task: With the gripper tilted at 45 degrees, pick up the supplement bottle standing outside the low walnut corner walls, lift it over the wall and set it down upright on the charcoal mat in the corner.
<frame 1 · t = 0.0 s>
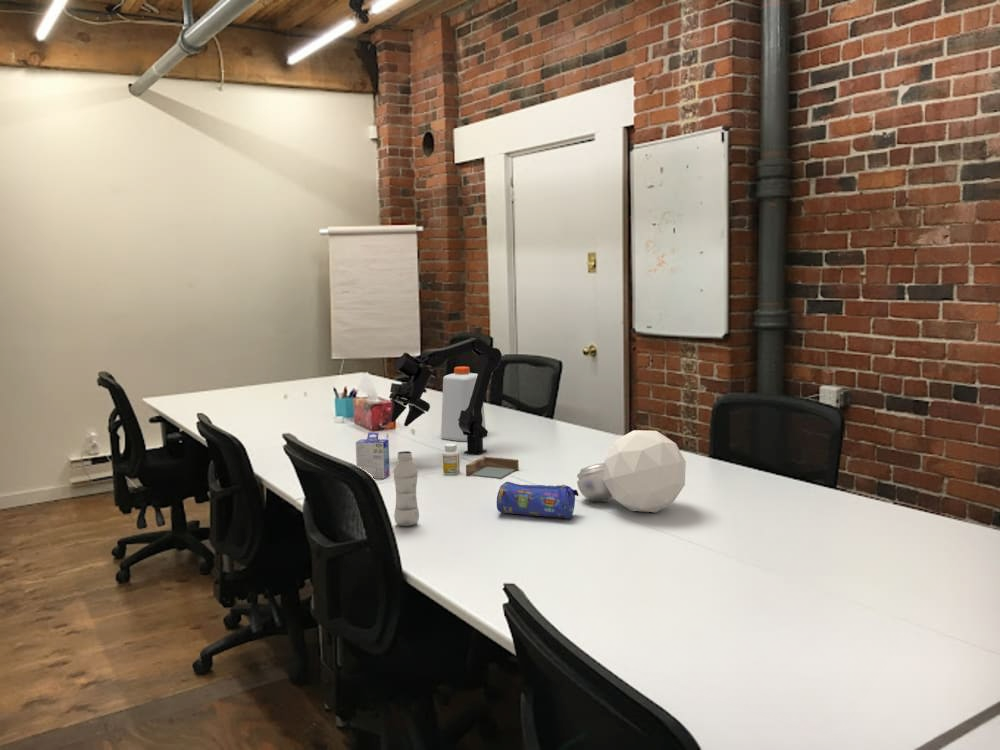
hand: (398, 423, 290), 15 cm above the table, tool tilted 35°, fingers open, 9 cm apart
pencil case: (536, 516, 236), on the table
lamp: (628, 507, 242), on the table
ink cartridge box: (373, 477, 280), on the table
supplement bottle: (451, 473, 282), on the table
corner walls: (493, 473, 281), resting in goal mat
plastic bottle: (407, 525, 229), on the table
plastic bottle 2: (463, 438, 336), on the table
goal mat: (493, 473, 281), on the table
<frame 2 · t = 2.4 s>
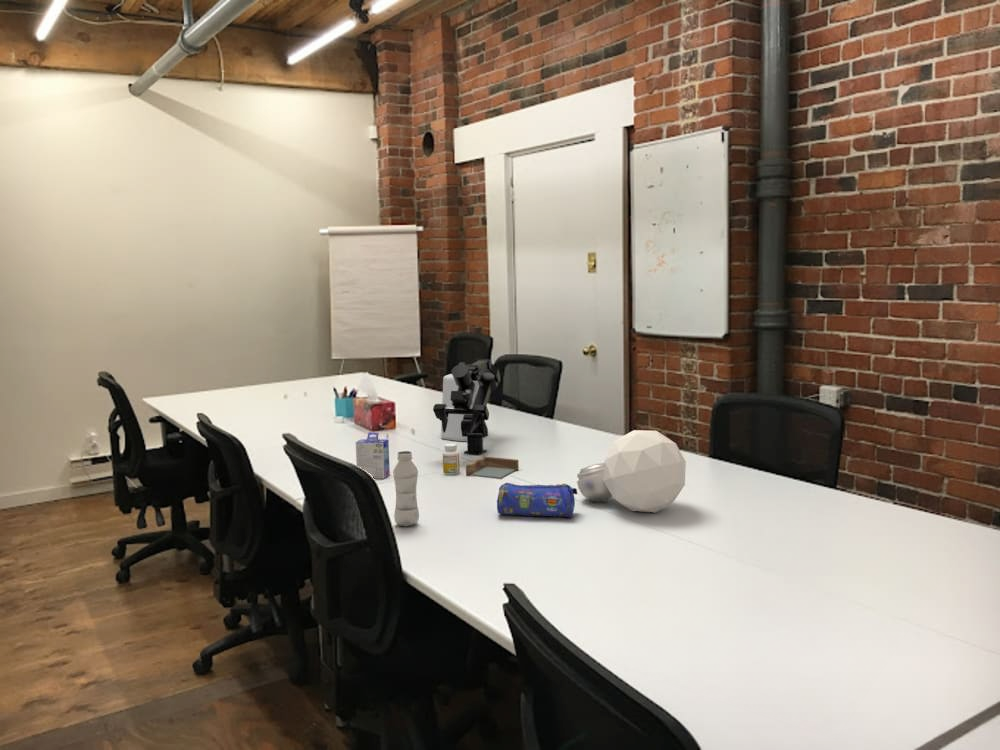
hand: (456, 432, 288), 12 cm above the table, tool tilted 45°, fingers open, 9 cm apart
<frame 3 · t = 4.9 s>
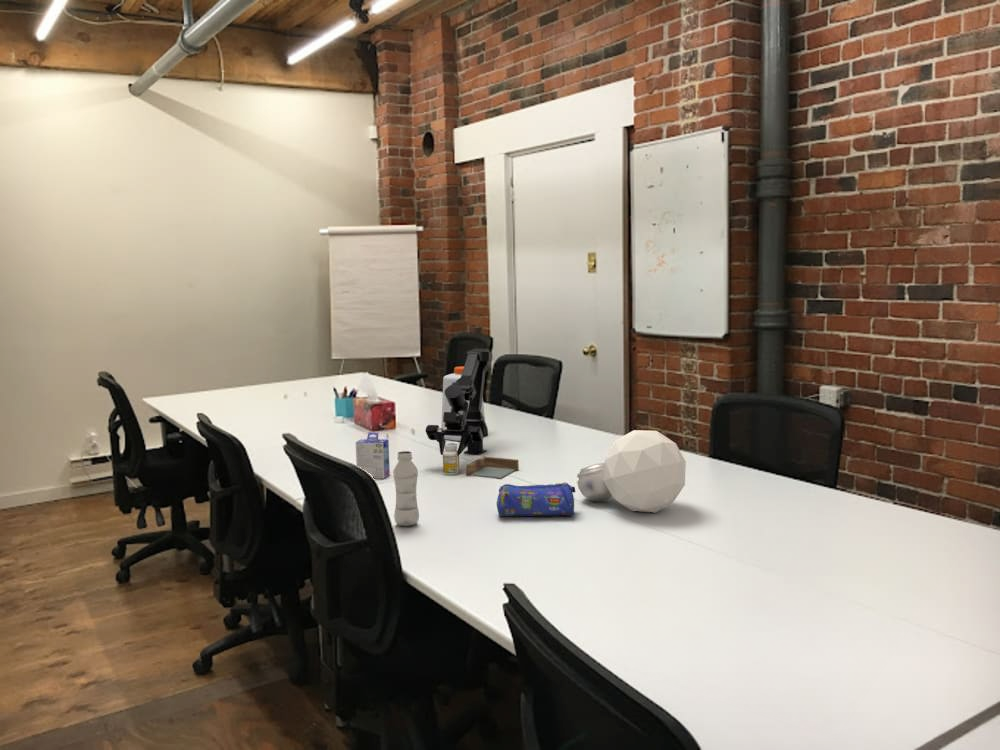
hand: (449, 454, 280), 7 cm above the table, tool tilted 45°, fingers closed on supplement bottle, 5 cm apart
supplement bottle: (451, 473, 282), on the table, touching gripper
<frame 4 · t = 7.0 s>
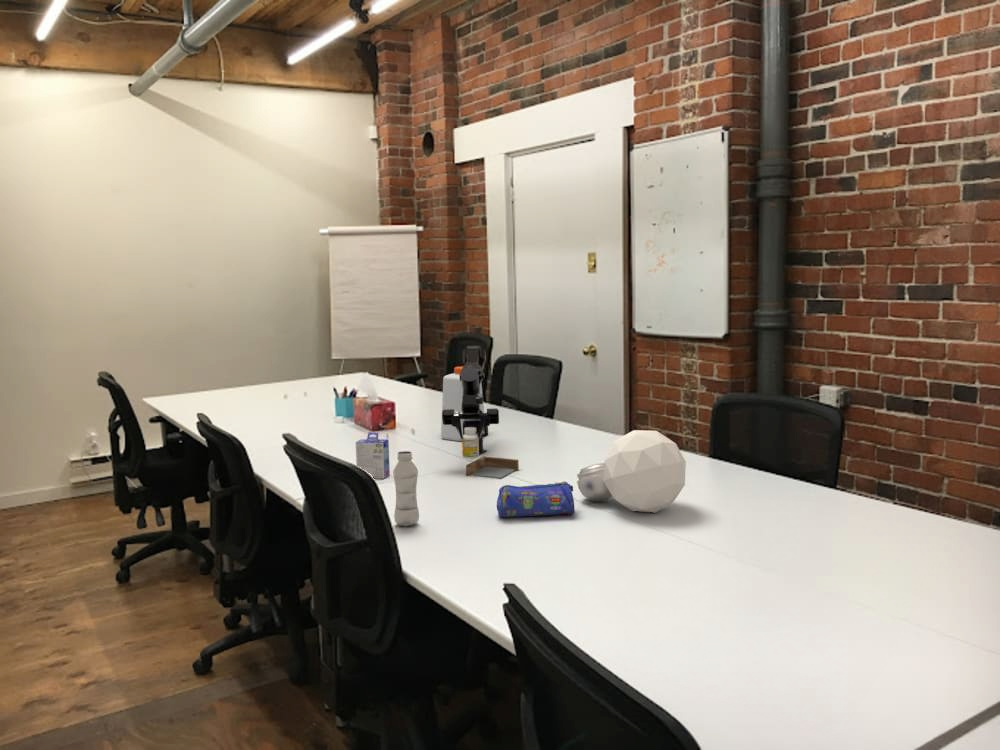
hand: (470, 438, 278), 12 cm above the table, tool tilted 45°, fingers closed on supplement bottle, 5 cm apart
supplement bottle: (470, 457, 280), point 5 cm above the table, touching gripper
when the fingers open (8 cm above the table, at t = 9.1 s): supplement bottle stays where it is, resting on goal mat.
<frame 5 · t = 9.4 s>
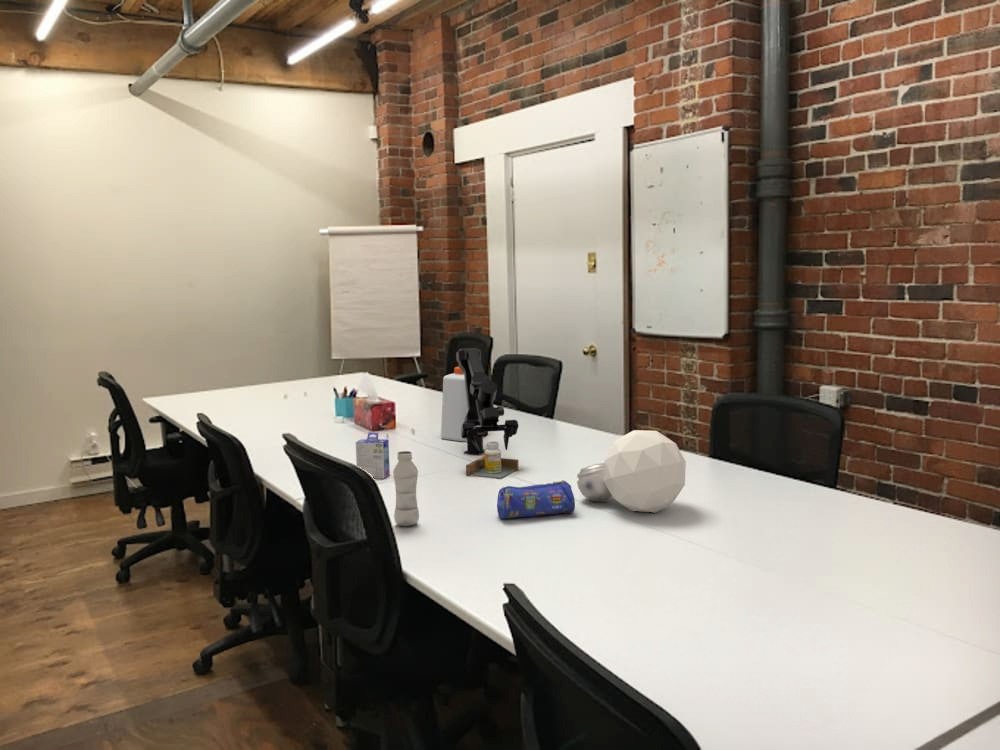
hand: (493, 450, 278), 8 cm above the table, tool tilted 45°, fingers open, 8 cm apart
supplement bottle: (493, 472, 281), resting on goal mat
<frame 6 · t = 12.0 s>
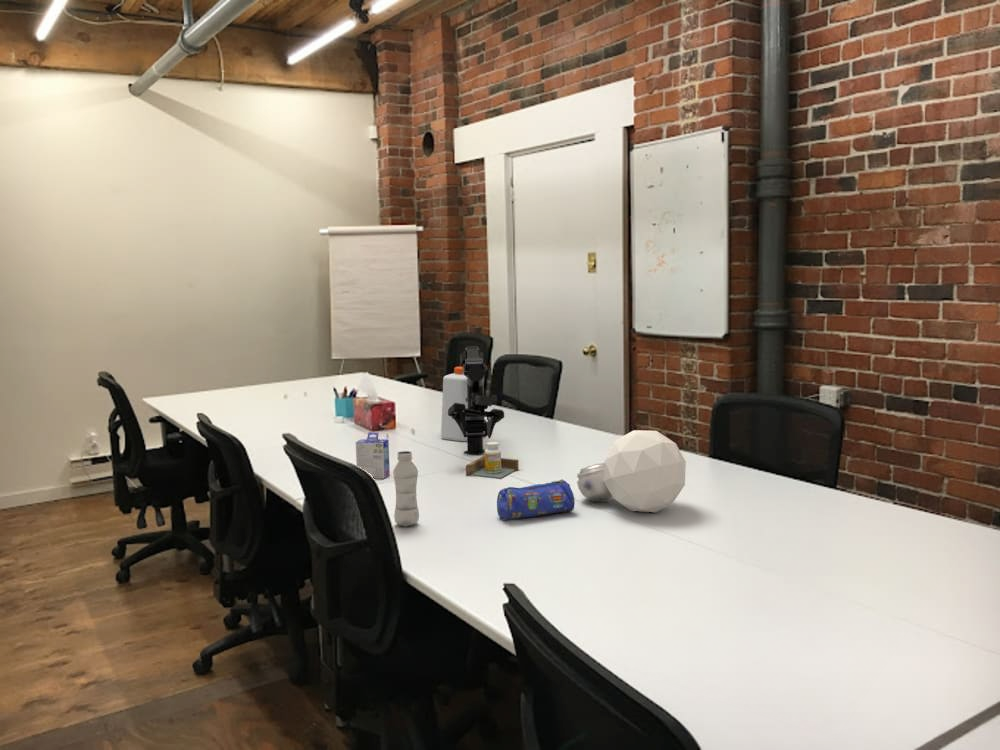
hand: (477, 436, 284), 11 cm above the table, tool tilted 35°, fingers open, 9 cm apart
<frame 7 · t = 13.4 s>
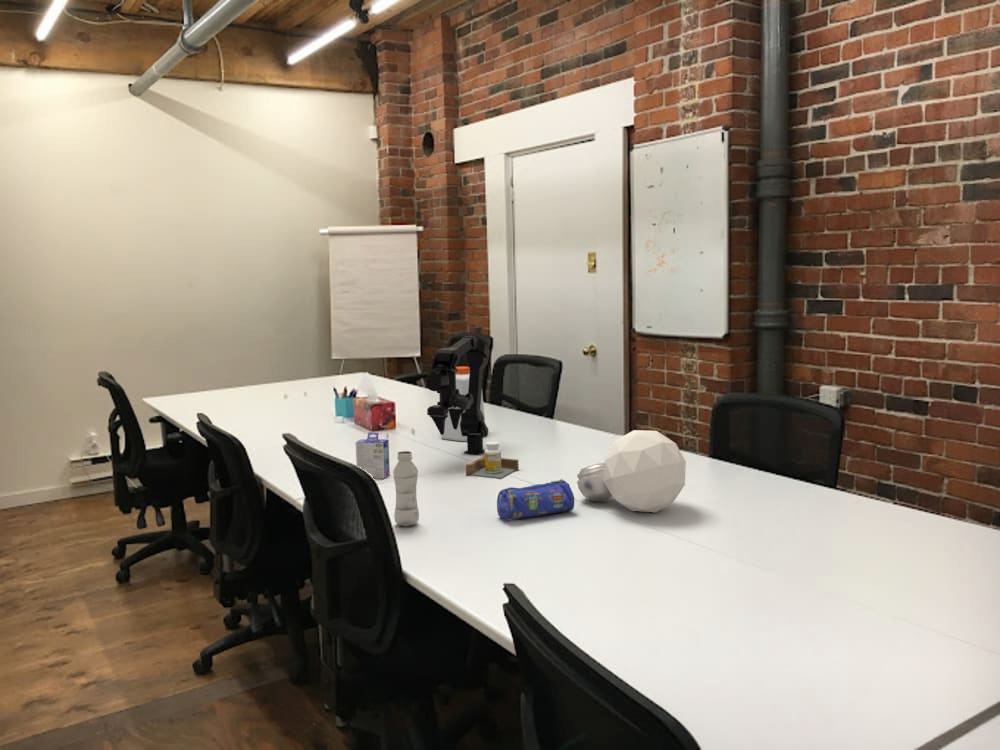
hand: (448, 431, 290), 12 cm above the table, tool pointing down, fingers open, 9 cm apart
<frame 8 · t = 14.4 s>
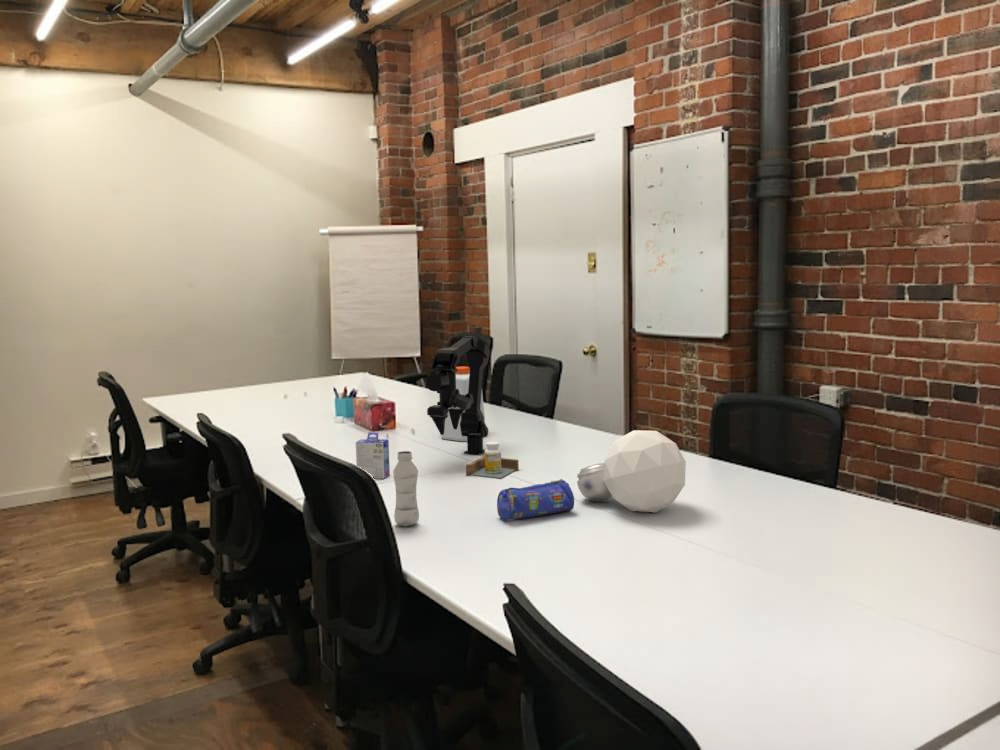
hand: (448, 431, 290), 12 cm above the table, tool pointing down, fingers open, 9 cm apart
at the end: supplement bottle inside the target area on the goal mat (0.1 cm from its centre), point 0.3 cm above the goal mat's base; supplement bottle tilted 0°; the gripper is holding nothing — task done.
